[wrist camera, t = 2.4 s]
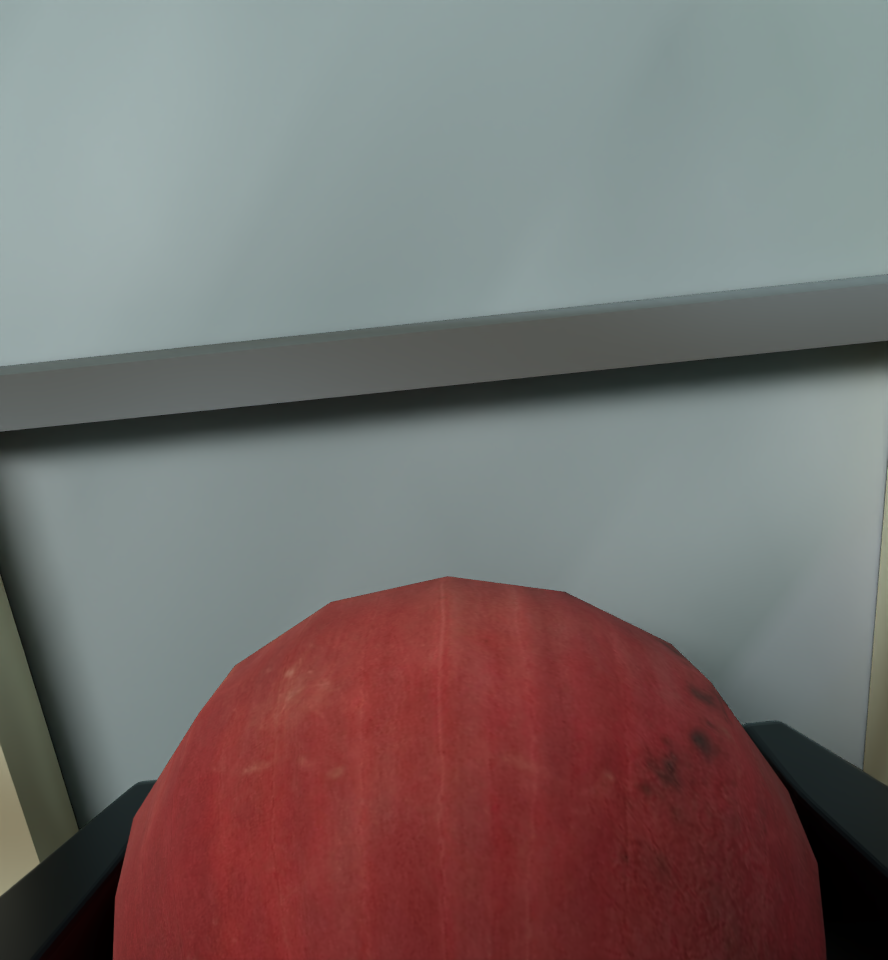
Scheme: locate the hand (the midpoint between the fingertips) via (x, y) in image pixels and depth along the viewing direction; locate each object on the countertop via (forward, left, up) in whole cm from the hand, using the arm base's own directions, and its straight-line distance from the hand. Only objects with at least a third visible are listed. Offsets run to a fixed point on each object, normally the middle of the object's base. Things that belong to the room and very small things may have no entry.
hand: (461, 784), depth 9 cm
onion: (0, 0, -2) cm, 2 cm away
